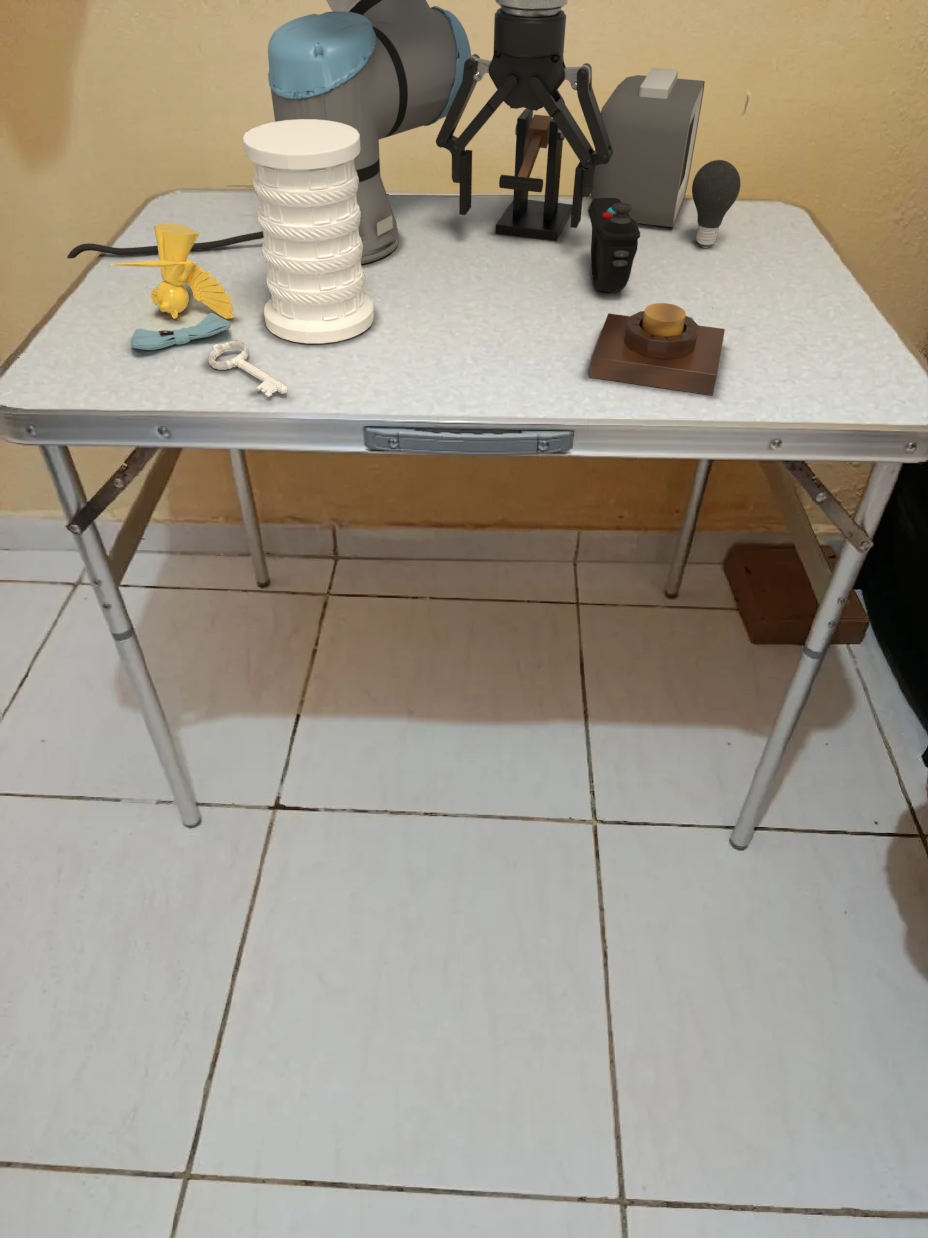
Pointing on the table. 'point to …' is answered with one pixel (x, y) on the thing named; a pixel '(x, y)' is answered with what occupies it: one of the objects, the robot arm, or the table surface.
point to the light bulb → (714, 197)
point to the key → (244, 366)
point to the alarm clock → (650, 144)
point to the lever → (530, 157)
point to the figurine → (182, 273)
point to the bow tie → (178, 334)
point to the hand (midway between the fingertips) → (519, 217)
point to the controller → (612, 243)
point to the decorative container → (310, 229)
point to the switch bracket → (547, 214)
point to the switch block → (658, 355)
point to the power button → (663, 319)
